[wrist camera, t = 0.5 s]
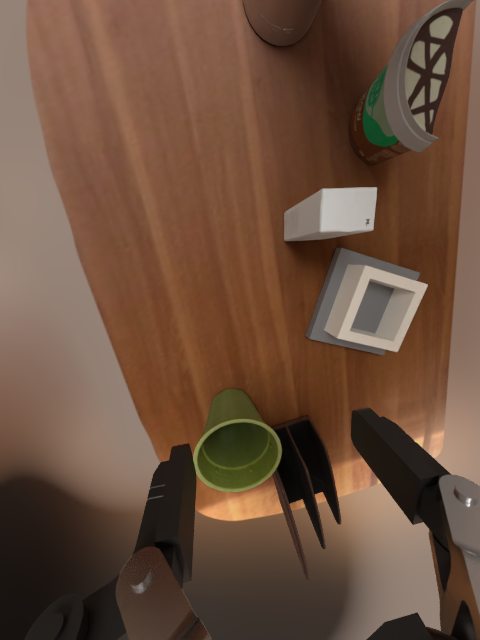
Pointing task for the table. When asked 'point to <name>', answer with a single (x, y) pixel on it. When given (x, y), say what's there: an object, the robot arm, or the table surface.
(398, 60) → the food container
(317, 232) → the skincare box
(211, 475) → the plant pot
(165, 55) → the table surface
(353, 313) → the box stand
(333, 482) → the letter holder
